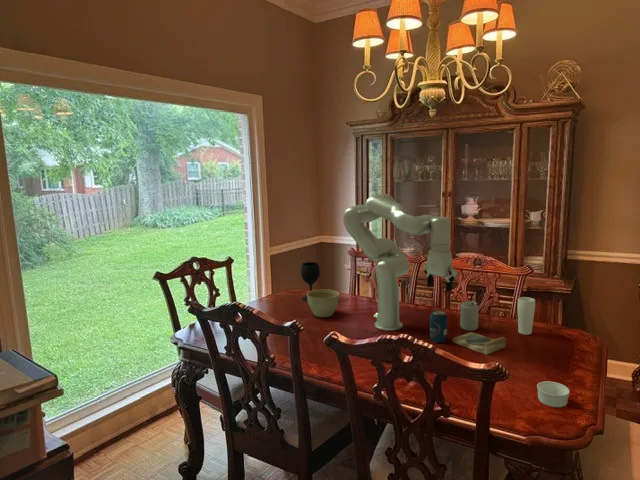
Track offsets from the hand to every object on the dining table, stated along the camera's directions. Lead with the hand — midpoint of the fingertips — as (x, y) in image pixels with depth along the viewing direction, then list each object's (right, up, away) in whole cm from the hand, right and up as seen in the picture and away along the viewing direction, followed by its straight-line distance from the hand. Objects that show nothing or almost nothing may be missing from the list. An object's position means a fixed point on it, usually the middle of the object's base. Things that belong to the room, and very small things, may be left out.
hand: (439, 288), depth 184 cm
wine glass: (-54, -13, +68) cm, 88 cm away
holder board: (+15, -22, -2) cm, 27 cm away
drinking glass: (+39, -20, +9) cm, 45 cm away
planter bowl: (-47, -17, +40) cm, 64 cm away
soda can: (0, -22, +4) cm, 22 cm away
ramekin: (+22, -30, -46) cm, 59 cm away
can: (+17, -20, +16) cm, 31 cm away
